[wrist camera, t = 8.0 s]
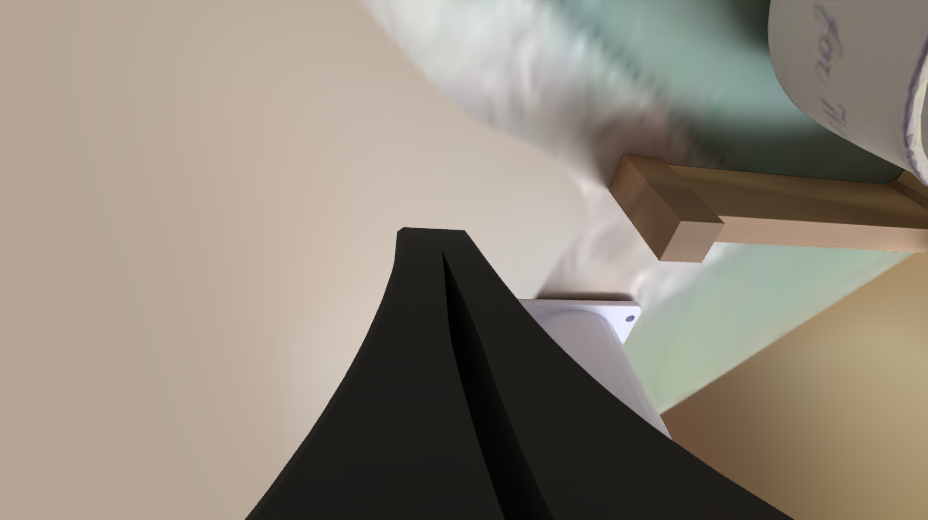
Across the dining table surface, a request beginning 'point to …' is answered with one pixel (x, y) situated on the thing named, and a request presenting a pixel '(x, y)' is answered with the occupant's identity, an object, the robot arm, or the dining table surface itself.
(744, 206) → the wooden frame
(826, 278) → the dining table surface
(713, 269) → the dining table surface
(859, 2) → the teacup
